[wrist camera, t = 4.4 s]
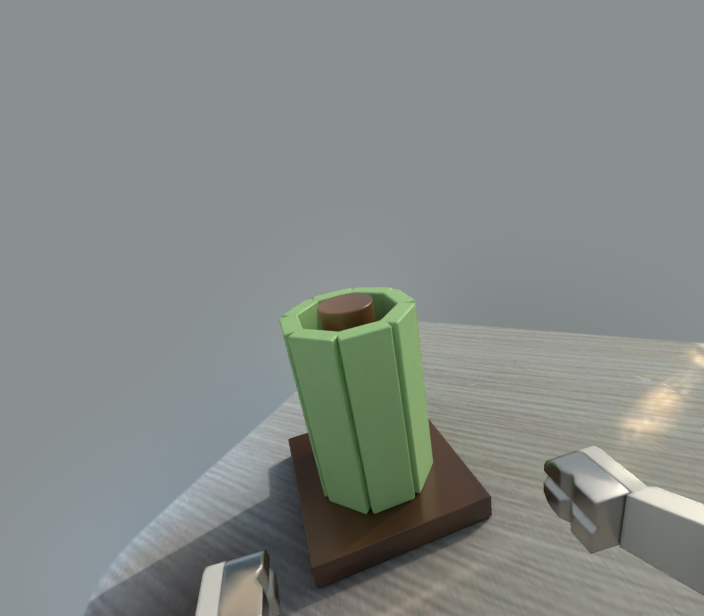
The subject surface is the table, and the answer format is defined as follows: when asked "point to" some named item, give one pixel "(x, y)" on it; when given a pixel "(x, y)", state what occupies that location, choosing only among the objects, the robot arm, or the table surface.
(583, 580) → the table surface
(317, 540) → the stand
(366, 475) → the green octagonal tube
